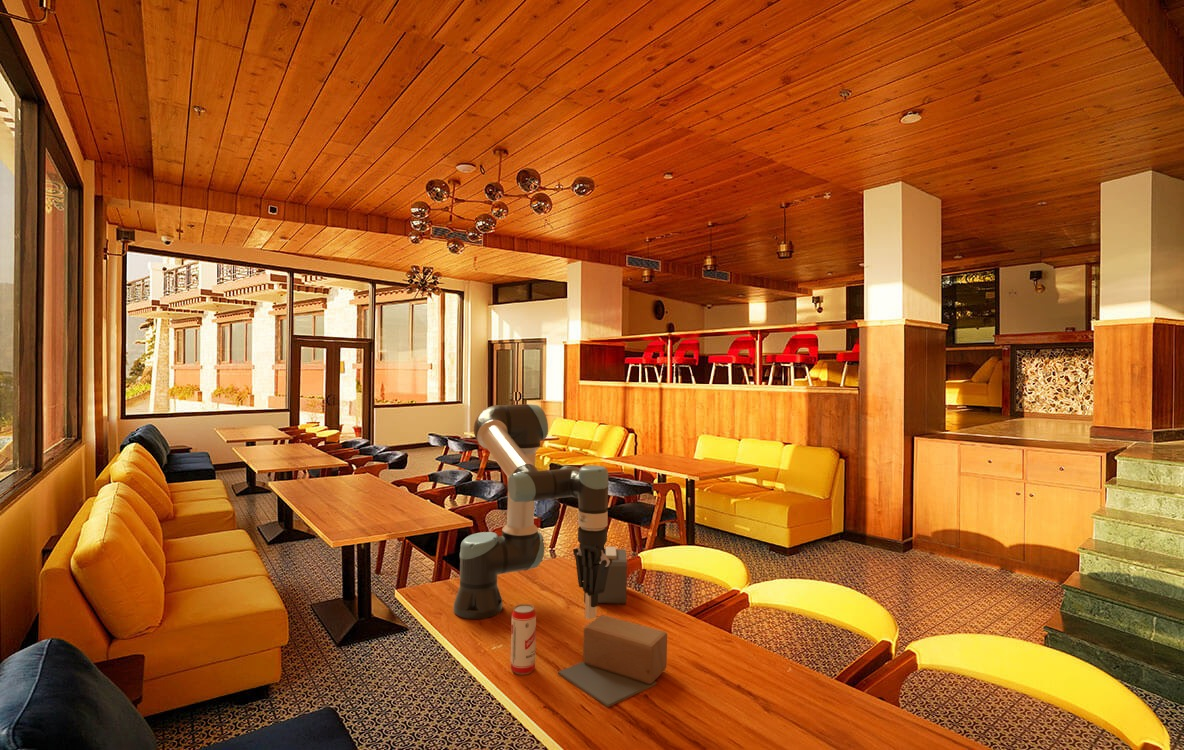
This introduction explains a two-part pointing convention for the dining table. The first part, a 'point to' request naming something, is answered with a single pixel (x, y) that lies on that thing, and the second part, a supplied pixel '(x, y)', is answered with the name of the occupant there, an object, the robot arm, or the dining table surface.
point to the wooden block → (625, 648)
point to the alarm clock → (615, 577)
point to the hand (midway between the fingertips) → (590, 617)
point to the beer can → (523, 639)
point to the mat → (603, 683)
